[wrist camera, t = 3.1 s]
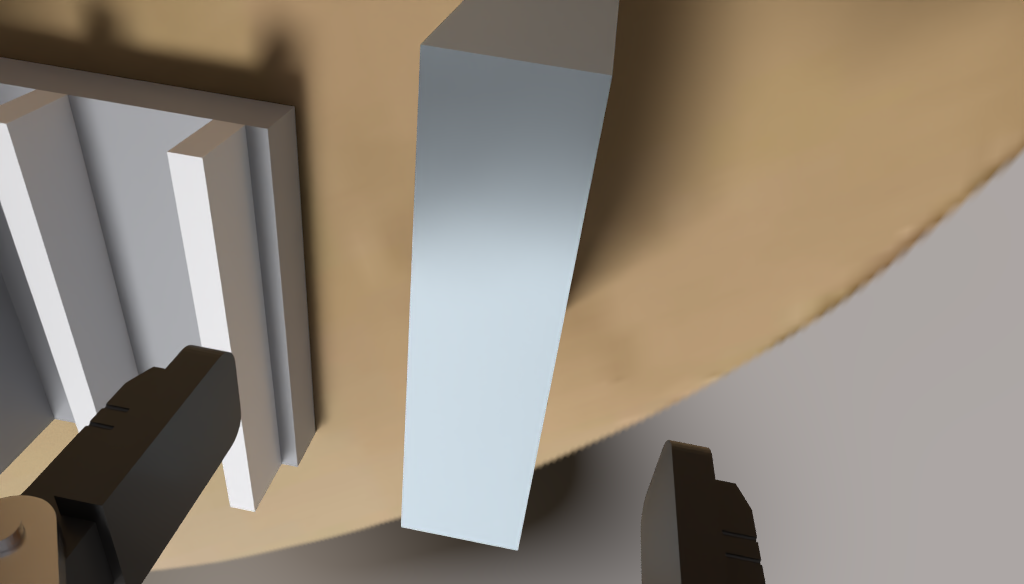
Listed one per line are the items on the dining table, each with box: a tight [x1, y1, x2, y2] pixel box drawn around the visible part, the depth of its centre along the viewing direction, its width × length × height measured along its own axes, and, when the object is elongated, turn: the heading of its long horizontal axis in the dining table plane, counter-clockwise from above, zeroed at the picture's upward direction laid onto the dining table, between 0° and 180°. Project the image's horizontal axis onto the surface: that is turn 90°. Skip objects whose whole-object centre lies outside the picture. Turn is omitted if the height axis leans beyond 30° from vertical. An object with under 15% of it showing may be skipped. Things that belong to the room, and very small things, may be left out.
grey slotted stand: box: [0, 57, 315, 512], centre depth 21 cm, size 15×12×14 cm
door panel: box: [401, 0, 619, 550], centre depth 18 cm, size 12×3×10 cm, turn 173°
